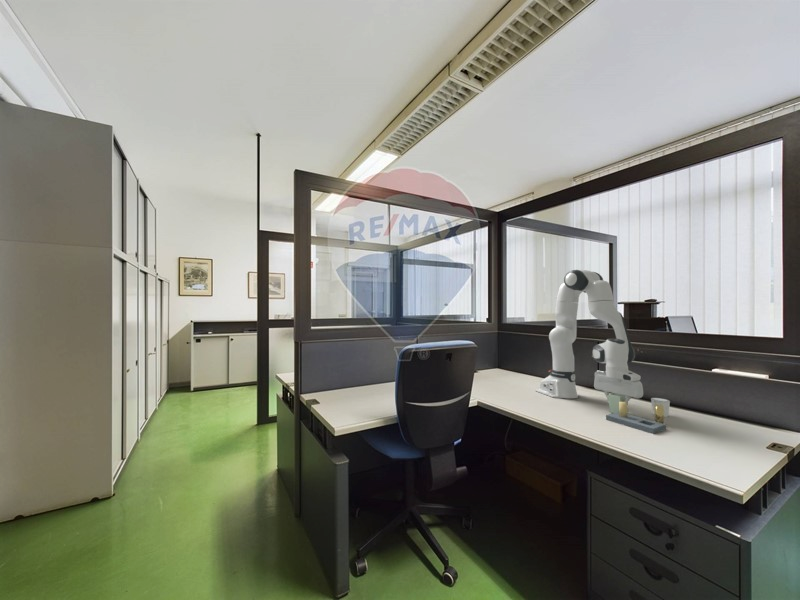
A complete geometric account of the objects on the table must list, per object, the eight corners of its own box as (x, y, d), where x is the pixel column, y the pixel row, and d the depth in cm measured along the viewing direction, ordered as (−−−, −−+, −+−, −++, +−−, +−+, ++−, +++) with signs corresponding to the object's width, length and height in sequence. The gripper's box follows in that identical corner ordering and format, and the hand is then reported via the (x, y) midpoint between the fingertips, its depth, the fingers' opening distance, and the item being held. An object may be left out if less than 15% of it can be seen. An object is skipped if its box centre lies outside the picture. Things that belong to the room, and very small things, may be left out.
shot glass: (673, 417, 145) (673, 402, 145) (656, 416, 147) (656, 401, 147) (664, 412, 152) (664, 397, 152) (648, 411, 153) (647, 397, 153)
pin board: (606, 419, 143) (605, 401, 143) (618, 416, 148) (618, 398, 148) (653, 433, 127) (653, 413, 127) (665, 429, 132) (665, 409, 132)
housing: (609, 412, 152) (607, 395, 153) (616, 410, 155) (614, 393, 155) (622, 414, 147) (619, 396, 148) (628, 412, 150) (626, 394, 151)
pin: (653, 423, 138) (653, 405, 138) (657, 422, 139) (656, 404, 139) (661, 426, 135) (661, 407, 135) (665, 425, 136) (665, 406, 137)
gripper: (590, 370, 159) (591, 398, 159) (637, 378, 141) (638, 410, 141) (598, 369, 162) (598, 396, 162) (644, 376, 144) (645, 407, 144)
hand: (617, 403), depth 151 cm, fingers closed on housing, 5 cm apart
